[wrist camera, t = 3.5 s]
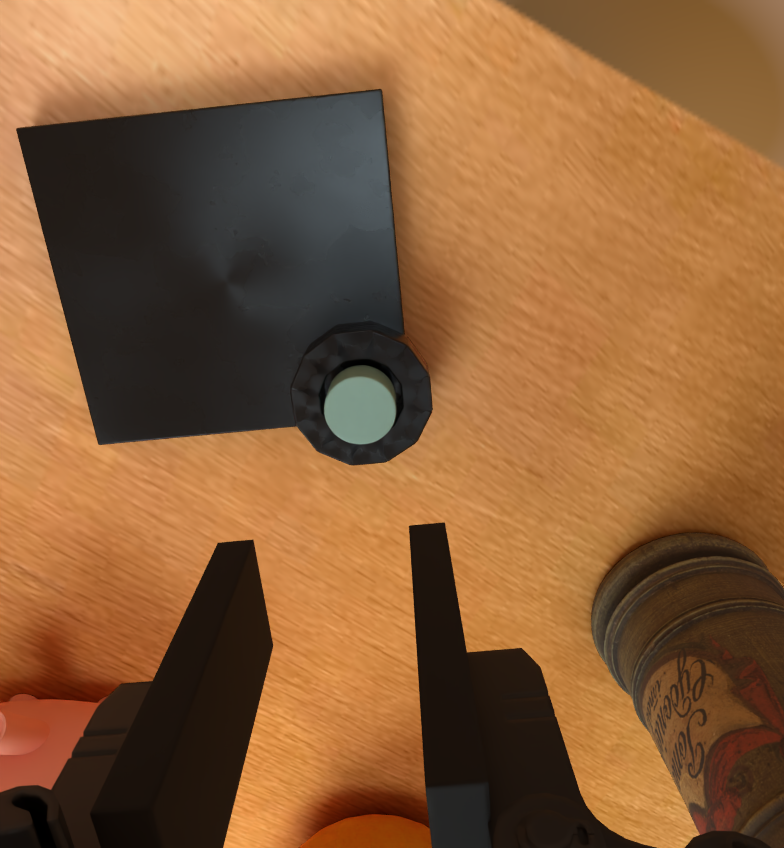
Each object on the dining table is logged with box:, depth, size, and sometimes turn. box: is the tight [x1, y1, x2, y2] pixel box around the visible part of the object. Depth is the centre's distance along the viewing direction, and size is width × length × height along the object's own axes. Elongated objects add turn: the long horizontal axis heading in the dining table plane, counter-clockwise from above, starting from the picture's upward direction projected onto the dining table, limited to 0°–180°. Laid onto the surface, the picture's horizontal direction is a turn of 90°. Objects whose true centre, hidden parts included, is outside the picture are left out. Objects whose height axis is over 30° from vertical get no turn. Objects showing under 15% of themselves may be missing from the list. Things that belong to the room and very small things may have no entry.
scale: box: [16, 89, 433, 465], centre depth 27 cm, size 15×14×3 cm
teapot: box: [0, 694, 108, 792], centre depth 32 cm, size 12×12×10 cm
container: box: [591, 533, 784, 848], centre depth 26 cm, size 9×9×18 cm
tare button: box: [324, 365, 396, 444], centre depth 27 cm, size 3×3×2 cm
